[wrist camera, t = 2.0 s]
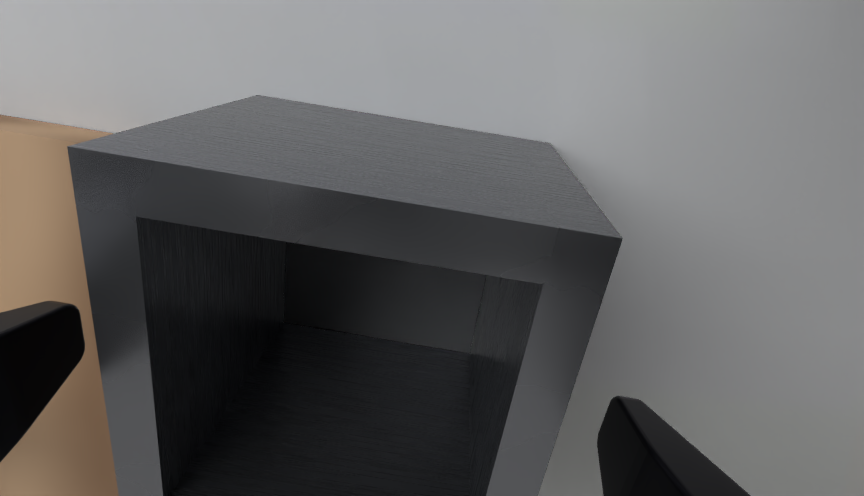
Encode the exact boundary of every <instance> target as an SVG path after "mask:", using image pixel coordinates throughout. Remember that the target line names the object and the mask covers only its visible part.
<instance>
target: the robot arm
mask: <svg viewBox="0 0 864 496" xmlns="http://www.w3.org/2000/svg"><path fill="white" fill-rule="evenodd" d="M84 351H85V340H84V334H83V328H82V321H81V315H80V311H79V309H78V308H77V307H76V306H75V305H73V304H69V303H64V302H58V301H44V302H40V303H36V304H32V305H28V306H24V307H20V308H16V309H12V310H9V311H5V312H1V313H0V462H1V461H2V460H3V459H4V458H5V457H6V456H7V455H8V453H9V452H10V451H11V450H12V449H13V448H14V447H15V445H16V444H17V443H18V442H19V441H20V440H21V438H22V437H23V436H24V435H25V433H26V432H27V431H28V429H29V428H30V427H31V426H32V424H33V423H34V422H35V420H36V419H37V418H38V416H39V415H40V414H41V412H42V411H43V410H44V409H45V407H46V406H47V405H48V403H49V402H50V401H51V399H52V398H53V397H54V395H55V394H56V393H57V391H58V390H59V389H60V387H61V386H62V385H63V383H64V382H65V381H66V379H67V378H68V377H69V375H70V374H71V373H72V371H73V370H74V369H75V367H76V366H77V365H78V363H79V362H80V361H81V359H82V357H83V355H84ZM597 448H598V456H599V464H600V472H601V479H602V487H603V495H604V496H750V495H749V494H748V493H747V492H746V491H745V490H744V489H742V488H741V487H740V486H739V485H738V484H737V483H735V482H734V481H733V480H732V479H731V478H730V477H729V476H727V475H726V474H725V473H724V472H723V471H722V470H721V469H719V468H718V467H717V466H716V465H715V464H714V463H712V462H711V461H710V460H709V459H708V458H707V457H706V456H704V455H703V454H702V453H701V452H700V451H699V450H697V449H696V448H695V447H694V446H693V445H692V444H691V443H689V442H688V441H687V440H686V439H685V438H684V437H683V436H681V435H680V434H679V433H678V432H677V431H676V430H674V429H673V428H672V427H671V426H670V425H669V424H668V423H666V422H665V421H664V420H663V419H662V418H661V417H660V416H658V415H657V414H656V413H655V412H654V411H653V410H651V409H650V408H649V407H648V406H647V405H646V404H645V403H643V402H642V401H641V400H639V399H635V398H629V397H623V396H616V397H614V398H613V399H612V400H611V402H610V404H609V406H608V409H607V412H606V414H605V417H604V420H603V422H602V425H601V428H600V430H599V433H598V440H597Z"/></svg>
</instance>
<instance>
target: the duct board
mask: <svg viewBox="0 0 864 496" xmlns="http://www.w3.org/2000/svg"><path fill="white" fill-rule="evenodd" d="M111 134H113V133H107V132H101V131H95V130H89V129H83V128H77V127H71V126H65V125H59V124H53V123H47V122H41V121H35V120H29V119H23V118H17V117H11V116H5V115H0V313H1V312H5V311H9V310H12V309H16V308H20V307H24V306H28V305H32V304H36V303H40V302H44V301H58V302H64V303H69V304H73V305H75V306H76V307H77V308H78V309H79V311H80V315H81V321H82V328H83V334H84V340H85V351H84V355H83V357H82V359H81V361H80V362H79V363H78V365H77V366H76V367H75V369H74V370H73V371H72V373H71V374H70V375H69V377H68V378H67V379H66V381H65V382H64V383H63V385H62V386H61V387H60V389H59V390H58V391H57V393H56V394H55V395H54V397H53V398H52V399H51V401H50V402H49V403H48V405H47V406H46V407H45V409H44V410H43V411H42V412H41V414H40V415H39V416H38V418H37V419H36V420H35V422H34V423H33V424H32V426H31V427H30V428H29V429H28V431H27V432H26V433H25V435H24V436H23V437H22V438H21V440H20V441H19V442H18V443H17V444H16V445H15V447H14V448H13V449H12V450H11V451H10V452H9V453H8V455H7V456H6V457H5V458H4V459H3V460H2V461H1V462H0V496H119V495H118V488H117V481H116V474H115V467H114V461H113V454H112V447H111V440H110V434H109V427H108V420H107V413H106V407H105V400H104V393H103V386H102V379H101V373H100V366H99V359H98V352H97V346H96V339H95V332H94V325H93V318H92V312H91V305H90V298H89V291H88V285H87V278H86V271H85V264H84V257H83V251H82V244H81V237H80V230H79V224H78V217H77V210H76V203H75V197H74V190H73V183H72V176H71V169H70V163H69V156H68V149H67V146H70V145H74V144H78V143H81V142H85V141H89V140H92V139H96V138H100V137H104V136H107V135H111Z"/></svg>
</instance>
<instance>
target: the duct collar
mask: <svg viewBox="0 0 864 496" xmlns="http://www.w3.org/2000/svg"><path fill="white" fill-rule="evenodd" d="M67 149H68V156H69V163H70V169H71V176H72V183H73V190H74V197H75V203H76V210H77V217H78V224H79V230H80V237H81V244H82V251H83V257H84V264H85V271H86V278H87V285H88V291H89V298H90V305H91V312H92V318H93V325H94V332H95V339H96V346H97V352H98V359H99V366H100V373H101V379H102V386H103V393H104V400H105V407H106V413H107V420H108V427H109V434H110V440H111V447H112V454H113V461H114V467H115V474H116V481H117V488H118V495H119V496H538V493H539V490H540V487H541V484H542V481H543V478H544V475H545V472H546V469H547V466H548V463H549V460H550V456H551V453H552V450H553V447H554V444H555V441H556V438H557V435H558V432H559V429H560V426H561V423H562V420H563V417H564V414H565V411H566V408H567V405H568V402H569V399H570V396H571V393H572V390H573V387H574V384H575V381H576V378H577V375H578V372H579V369H580V366H581V363H582V360H583V357H584V354H585V351H586V348H587V345H588V342H589V339H590V336H591V333H592V329H593V326H594V323H595V320H596V317H597V314H598V311H599V308H600V305H601V302H602V299H603V296H604V293H605V290H606V287H607V284H608V281H609V278H610V275H611V272H612V269H613V266H614V263H615V260H616V257H617V254H618V251H619V248H620V245H621V242H622V239H623V238H622V237H621V236H620V234H619V233H618V232H617V231H616V229H615V228H614V227H613V225H612V224H611V223H610V221H609V220H608V219H607V217H606V216H605V215H604V213H603V212H602V211H601V210H600V208H599V207H598V206H597V204H596V203H595V202H594V200H593V199H592V198H591V196H590V195H589V194H588V192H587V191H586V190H585V189H584V187H583V186H582V185H581V183H580V182H579V181H578V179H577V178H576V177H575V175H574V174H573V173H572V171H571V170H570V169H569V168H568V166H567V165H566V164H565V162H564V161H563V160H562V158H561V157H560V156H559V154H558V153H557V152H556V150H555V149H554V148H553V147H552V145H551V144H550V143H545V142H539V141H532V140H526V139H520V138H514V137H508V136H502V135H496V134H490V133H484V132H478V131H472V130H466V129H460V128H454V127H448V126H442V125H435V124H429V123H423V122H417V121H411V120H405V119H399V118H393V117H387V116H381V115H375V114H369V113H363V112H357V111H351V110H345V109H338V108H332V107H326V106H320V105H314V104H308V103H302V102H296V101H290V100H284V99H278V98H272V97H266V96H260V95H256V96H253V97H249V98H245V99H241V100H238V101H234V102H230V103H226V104H223V105H219V106H215V107H212V108H208V109H204V110H200V111H197V112H193V113H189V114H186V115H182V116H178V117H174V118H171V119H167V120H163V121H159V122H156V123H152V124H148V125H145V126H141V127H137V128H133V129H130V130H126V131H122V132H119V133H115V134H111V135H107V136H104V137H100V138H96V139H92V140H89V141H85V142H81V143H78V144H74V145H70V146H67ZM286 242H291V243H297V244H303V245H309V246H315V247H321V248H327V249H333V250H339V251H345V252H351V253H357V254H363V255H369V256H375V257H381V258H387V259H393V260H399V261H405V262H411V263H417V264H423V265H429V266H435V267H441V268H447V269H453V270H459V271H465V272H471V273H477V274H483V275H487V276H486V281H485V285H484V290H483V294H482V299H481V304H480V308H479V313H478V317H477V322H476V326H475V331H474V336H473V340H472V345H471V349H470V354H468V353H462V352H456V351H450V350H444V349H438V348H432V347H426V346H420V345H414V344H408V343H402V342H396V341H390V340H384V339H378V338H373V337H367V336H361V335H355V334H349V333H343V332H337V331H331V330H325V329H319V328H313V327H307V326H301V325H295V324H289V323H283V319H284V289H285V260H286Z"/></svg>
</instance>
